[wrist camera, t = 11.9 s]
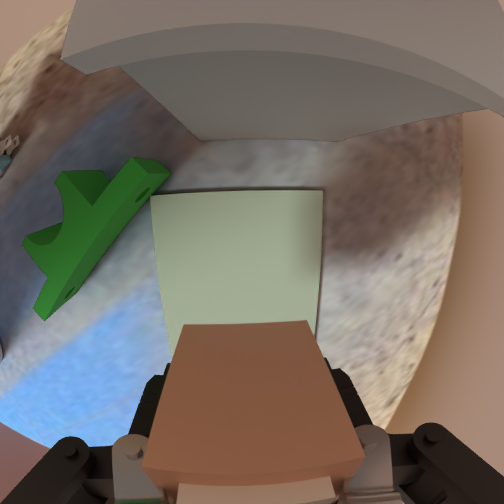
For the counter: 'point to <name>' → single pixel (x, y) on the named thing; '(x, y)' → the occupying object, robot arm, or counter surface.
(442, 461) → the robot arm
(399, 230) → the counter surface
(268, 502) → the block
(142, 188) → the pipe clamp
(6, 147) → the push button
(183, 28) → the box
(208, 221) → the pad
